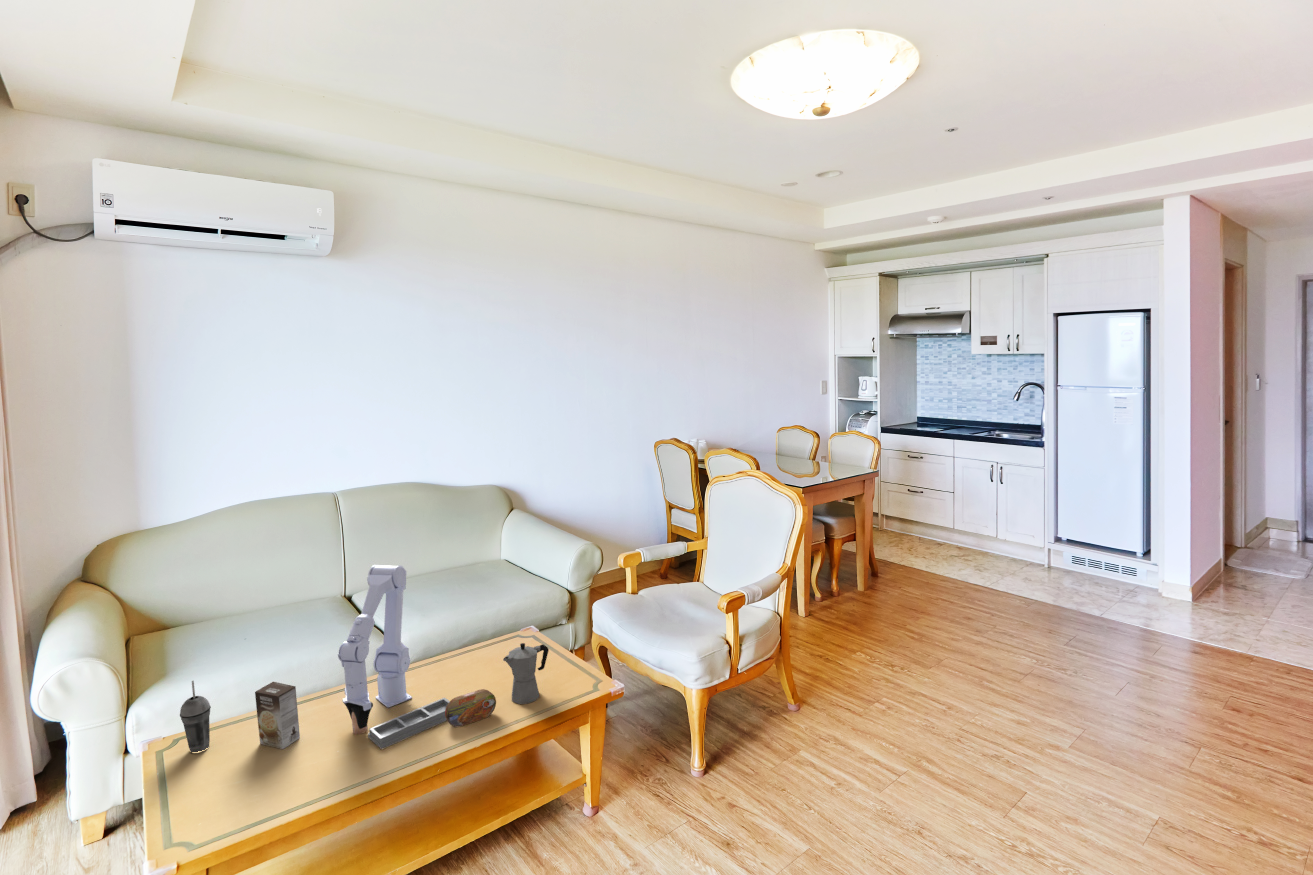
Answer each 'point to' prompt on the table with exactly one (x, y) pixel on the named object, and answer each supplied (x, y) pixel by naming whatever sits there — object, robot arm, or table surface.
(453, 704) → the tin
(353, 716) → the tan rounded cylinder
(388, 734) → the grey compartment tray
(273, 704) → the coffee box
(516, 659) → the coffeepot
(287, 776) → the table surface
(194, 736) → the beverage cup
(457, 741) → the table surface
